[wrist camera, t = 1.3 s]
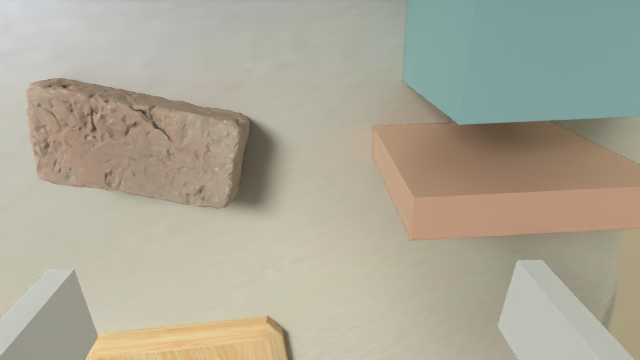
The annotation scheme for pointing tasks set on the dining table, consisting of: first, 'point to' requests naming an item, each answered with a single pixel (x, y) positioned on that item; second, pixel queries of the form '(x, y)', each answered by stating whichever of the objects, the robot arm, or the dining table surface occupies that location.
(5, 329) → the robot arm
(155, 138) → the brick
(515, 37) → the block
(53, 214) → the dining table surface
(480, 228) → the base
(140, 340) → the cutting board
